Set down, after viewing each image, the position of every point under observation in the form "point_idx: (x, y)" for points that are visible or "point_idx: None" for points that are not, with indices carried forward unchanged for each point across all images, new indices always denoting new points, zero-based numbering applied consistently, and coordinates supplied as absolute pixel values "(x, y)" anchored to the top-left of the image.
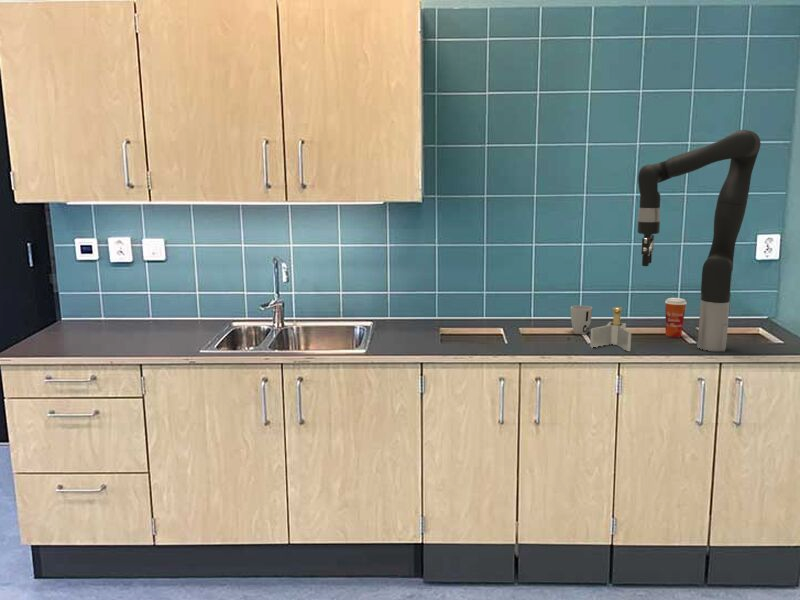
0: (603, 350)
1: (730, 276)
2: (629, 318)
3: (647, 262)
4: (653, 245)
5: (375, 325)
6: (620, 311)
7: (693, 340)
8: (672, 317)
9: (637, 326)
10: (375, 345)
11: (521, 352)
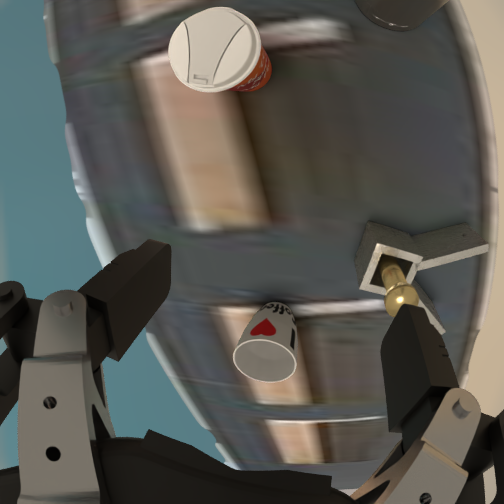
0: (449, 280)
1: None
2: (84, 188)
3: (425, 337)
4: (57, 408)
5: None
6: (415, 289)
7: (299, 21)
8: (263, 67)
9: (157, 168)
10: None
11: None
